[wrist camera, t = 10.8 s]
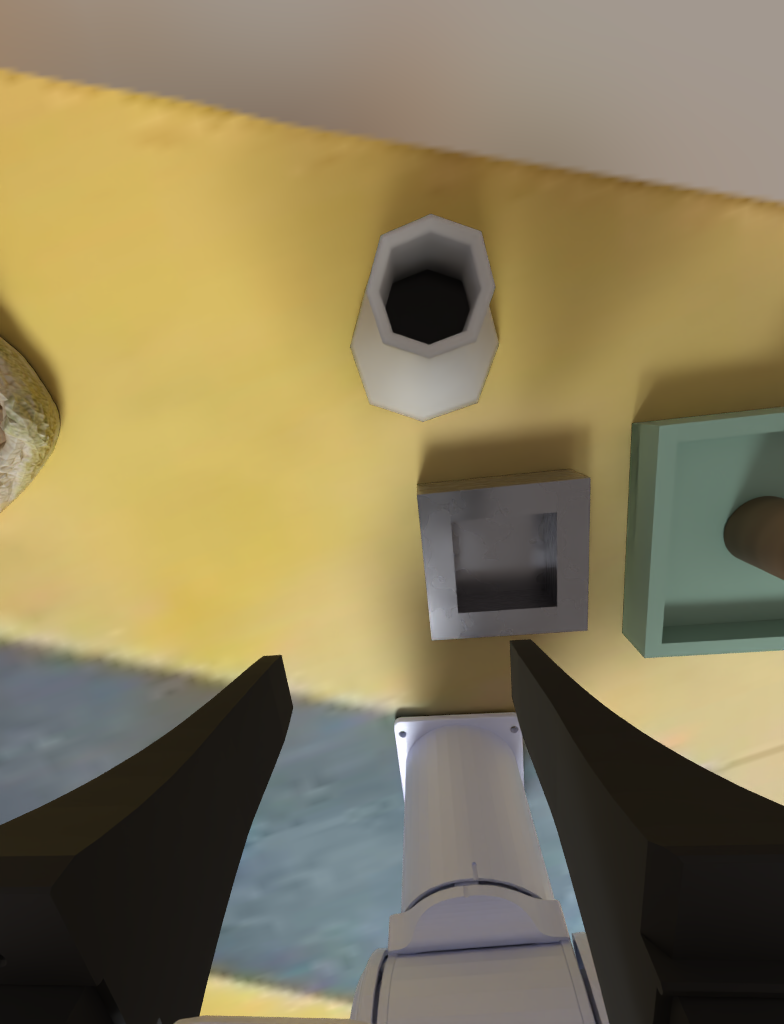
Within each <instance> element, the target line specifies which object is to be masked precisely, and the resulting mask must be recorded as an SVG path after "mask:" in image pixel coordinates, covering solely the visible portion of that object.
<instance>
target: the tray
mask: <svg viewBox="0 0 784 1024" xmlns="http://www.w3.org/2000/svg"><path fill="white" fill-rule="evenodd" d="M762 496H776V497H780V498H784V407H776V408H767V409H758V410H749V411H740V412H730V413H721V414H712V415H703V416H694V417H685V418H676V419H667V420H657V421H648V422H639V423H632V435H631V457H630V478H629V500H628V521H627V542H626V564H625V585H624V607H623V628H622V633H623V634H624V636H625V637H626V638H627V639H628V640H629V641H630V642H631V643H632V645H633V646H634V647H635V648H636V649H637V650H638V651H639V652H640V654H641V655H642V656H643V657H644V658H654V657H672V656H689V655H707V654H725V653H742V652H760V651H778V650H784V580H782V579H780V578H778V577H776V576H774V575H771V574H769V573H767V572H765V571H763V570H761V569H759V568H757V567H755V566H753V565H750V564H748V563H746V562H744V561H742V560H740V559H738V558H736V557H734V556H733V555H732V554H731V553H730V552H729V551H728V550H727V548H726V546H725V542H724V530H725V526H726V524H727V521H728V520H729V518H730V516H731V515H732V514H733V513H734V512H735V511H736V510H737V509H738V508H739V507H740V506H741V505H743V504H744V503H746V502H748V501H750V500H752V499H754V498H758V497H762Z"/></svg>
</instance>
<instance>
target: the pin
mask: <svg viewBox="0 0 784 1024" xmlns="http://www.w3.org/2000/svg"><path fill="white" fill-rule="evenodd" d="M724 542H725V546H726V548H727V550H728V551H729V552H730V553H731V554H732V555H733V556H734V557H736V558H738V559H740V560H742V561H744V562H746V563H748V564H750V565H753V566H755V567H757V568H759V569H761V570H763V571H765V572H767V573H769V574H771V575H774V576H776V577H778V578H780V579H782V580H784V498H780V497H776V496H762V497H758V498H754V499H752V500H750V501H748V502H746V503H744V504H743V505H741V506H740V507H739V508H738V509H737V510H736V511H735V512H734V513H733V514H732V515H731V516H730V518H729V520H728V521H727V524H726V526H725V530H724Z"/></svg>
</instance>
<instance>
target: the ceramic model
mask: <svg viewBox="0 0 784 1024" xmlns="http://www.w3.org/2000/svg"><path fill="white" fill-rule="evenodd" d="M59 430H60V419H59V413H58V410H57V407H56V404H55V403H54V402H53V400H52V398H51V396H50V394H49V392H48V391H47V390H46V388H45V386H44V385H43V383H42V382H41V381H40V379H39V377H38V376H37V374H36V373H35V371H34V369H33V368H32V367H31V366H30V365H29V363H28V362H27V361H26V359H25V358H24V357H23V356H22V355H21V354H20V353H19V352H18V351H17V350H16V349H15V348H13V347H12V346H10V345H9V343H7V342H6V341H5V340H3V339H2V338H1V337H0V513H1V512H2V511H3V510H4V509H5V508H6V507H7V506H8V505H9V504H11V503H12V502H13V501H14V500H15V499H16V498H17V497H18V496H19V495H20V494H21V493H22V492H23V491H24V490H25V488H26V487H27V486H28V485H29V484H30V483H31V482H32V480H33V479H34V478H35V477H36V475H37V474H38V473H39V471H40V470H41V469H42V467H43V466H44V465H45V463H46V462H47V460H48V459H49V457H50V456H51V454H52V453H53V451H54V448H55V445H56V442H57V439H58V435H59Z"/></svg>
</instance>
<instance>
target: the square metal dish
mask: <svg viewBox="0 0 784 1024" xmlns="http://www.w3.org/2000/svg"><path fill="white" fill-rule="evenodd" d="M417 500H418V509H419V519H420V529H421V539H422V549H423V559H424V569H425V579H426V589H427V599H428V608H429V618H430V628H431V638H432V640H446V639H462V638H478V637H494V636H509V635H525V634H541V633H557V632H572V631H587V630H588V579H589V529H590V477H587V476H585V475H583V474H581V473H578V472H576V471H574V470H571V469H564V470H554V471H544V472H534V473H524V474H514V475H504V476H494V477H484V478H475V479H465V480H455V481H445V482H435V483H425V484H417Z"/></svg>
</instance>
